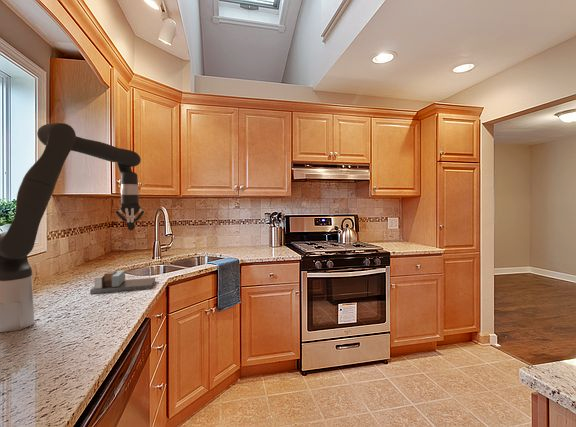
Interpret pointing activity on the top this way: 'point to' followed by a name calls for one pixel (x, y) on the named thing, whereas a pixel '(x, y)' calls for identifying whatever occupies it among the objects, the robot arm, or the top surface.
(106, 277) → the walnut block
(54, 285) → the top surface
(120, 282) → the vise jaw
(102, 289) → the plate
